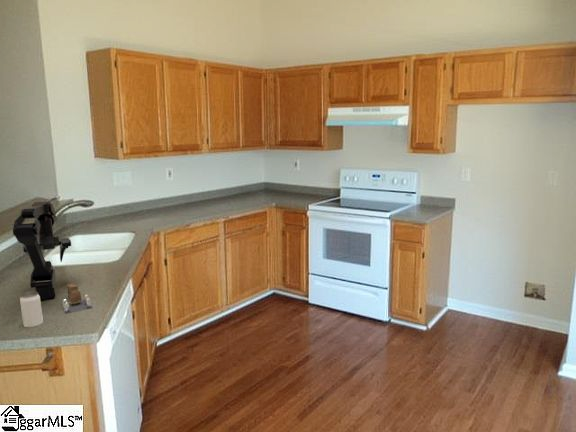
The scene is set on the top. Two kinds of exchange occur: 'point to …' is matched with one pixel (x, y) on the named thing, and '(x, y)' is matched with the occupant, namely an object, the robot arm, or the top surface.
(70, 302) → the yellow-brown curved piece
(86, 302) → the pair of rounded blocks
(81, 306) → the mat
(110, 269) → the top surface
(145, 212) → the top surface
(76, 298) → the brown rectangular block
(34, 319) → the can
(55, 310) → the top surface
